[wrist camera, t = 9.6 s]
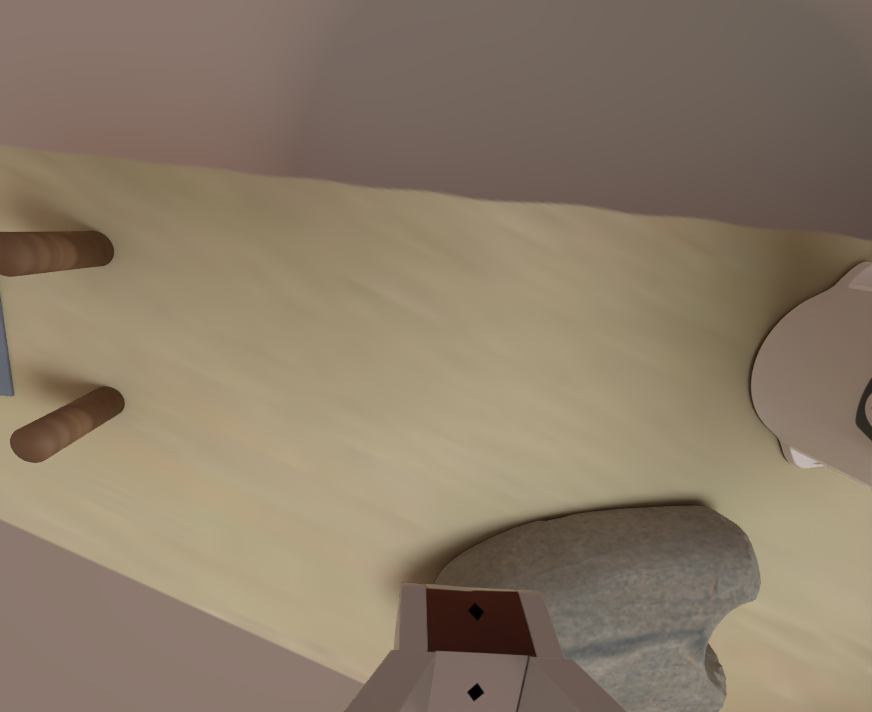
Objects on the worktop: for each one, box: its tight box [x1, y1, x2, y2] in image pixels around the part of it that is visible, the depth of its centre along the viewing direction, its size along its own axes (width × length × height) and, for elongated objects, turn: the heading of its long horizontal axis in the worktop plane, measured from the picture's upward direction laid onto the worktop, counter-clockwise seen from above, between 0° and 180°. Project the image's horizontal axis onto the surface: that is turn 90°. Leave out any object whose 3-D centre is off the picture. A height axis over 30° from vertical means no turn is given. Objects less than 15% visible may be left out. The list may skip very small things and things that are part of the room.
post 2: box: [10, 387, 125, 463], centre depth 34 cm, size 3×3×8 cm
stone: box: [434, 505, 761, 712], centre depth 41 cm, size 28×10×20 cm
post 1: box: [0, 231, 114, 277], centre depth 31 cm, size 3×3×8 cm
